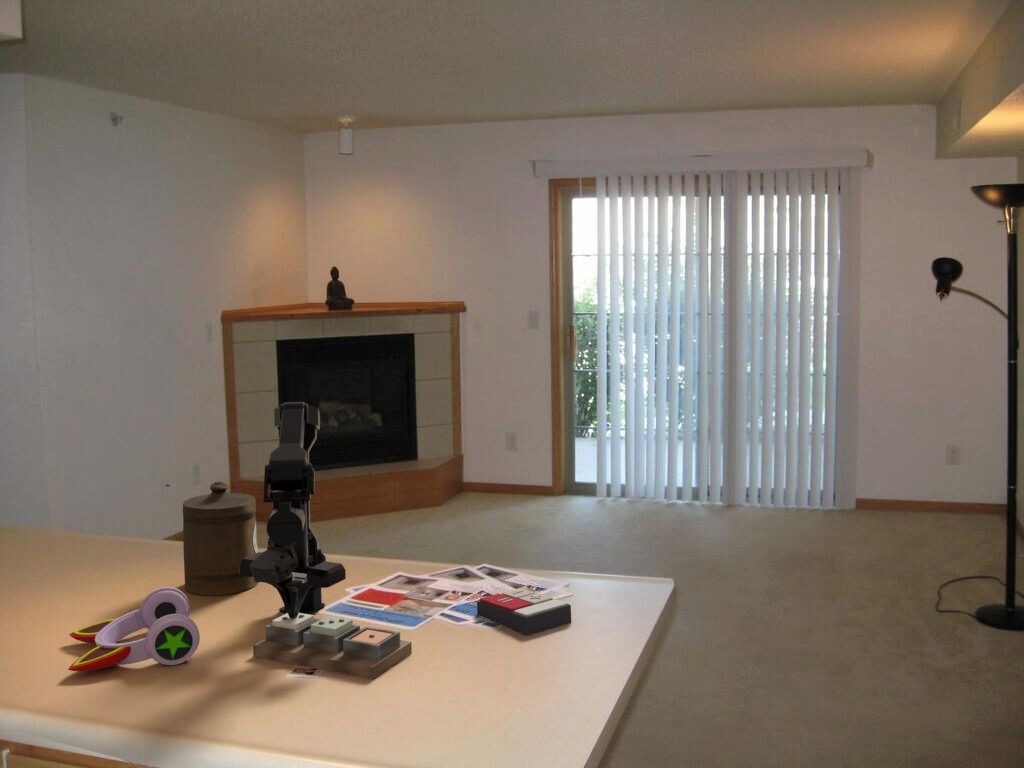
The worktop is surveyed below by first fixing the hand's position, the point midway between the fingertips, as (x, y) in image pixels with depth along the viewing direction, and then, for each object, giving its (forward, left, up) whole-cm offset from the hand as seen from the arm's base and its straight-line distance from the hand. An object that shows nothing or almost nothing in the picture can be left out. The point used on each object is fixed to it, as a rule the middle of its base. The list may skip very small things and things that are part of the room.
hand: (293, 617), depth 172 cm
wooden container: (-36, +23, -6) cm, 43 cm away
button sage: (+8, 0, -2) cm, 8 cm away
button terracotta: (+16, 0, -3) cm, 16 cm away
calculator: (+30, +29, -6) cm, 43 cm away
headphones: (-24, -13, -6) cm, 28 cm away
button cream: (0, 0, -2) cm, 2 cm away
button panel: (+8, 0, -5) cm, 10 cm away
